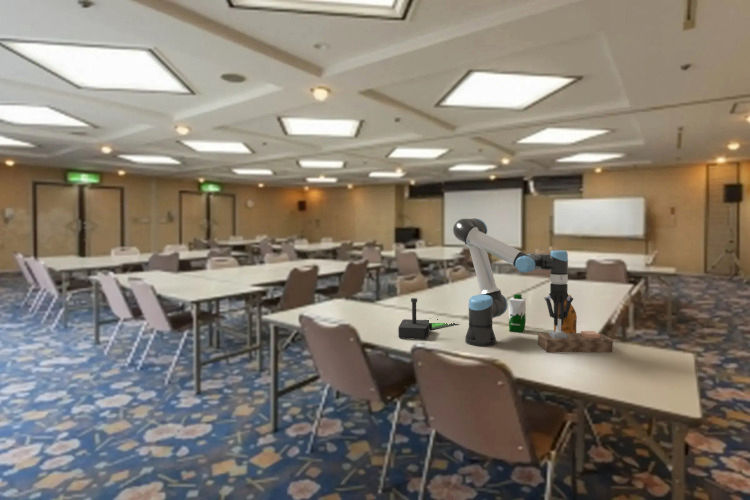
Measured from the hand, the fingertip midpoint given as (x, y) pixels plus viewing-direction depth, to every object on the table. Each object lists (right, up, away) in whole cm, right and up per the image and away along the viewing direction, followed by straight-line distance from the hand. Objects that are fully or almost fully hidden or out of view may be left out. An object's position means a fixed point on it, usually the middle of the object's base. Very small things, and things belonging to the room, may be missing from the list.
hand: (558, 332), depth 200 cm
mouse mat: (-52, -6, +54) cm, 75 cm away
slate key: (0, -5, 0) cm, 5 cm away
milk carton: (-8, -6, +35) cm, 36 cm away
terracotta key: (+15, -5, 0) cm, 16 cm away
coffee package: (+12, -7, +20) cm, 25 cm away
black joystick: (-65, -8, +29) cm, 72 cm away
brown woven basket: (+8, -8, 0) cm, 11 cm away
